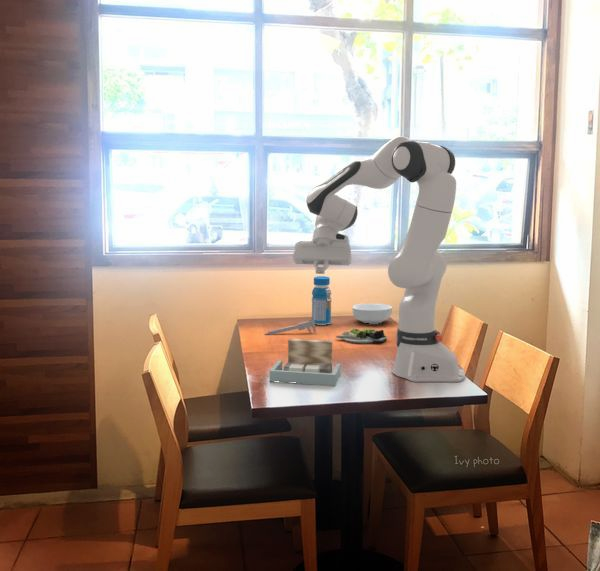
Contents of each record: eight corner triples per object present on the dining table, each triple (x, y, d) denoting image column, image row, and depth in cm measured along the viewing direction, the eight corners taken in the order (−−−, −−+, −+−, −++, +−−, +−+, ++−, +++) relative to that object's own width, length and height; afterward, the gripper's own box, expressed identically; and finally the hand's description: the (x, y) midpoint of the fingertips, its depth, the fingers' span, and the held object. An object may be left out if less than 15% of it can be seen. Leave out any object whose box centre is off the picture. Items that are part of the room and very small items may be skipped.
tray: (340, 374, 203) (340, 363, 203) (334, 386, 192) (335, 374, 191) (278, 370, 207) (278, 360, 207) (269, 381, 196) (269, 370, 195)
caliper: (315, 332, 260) (315, 317, 259) (315, 333, 259) (315, 318, 258) (264, 334, 257) (264, 319, 256) (264, 335, 256) (264, 319, 255)
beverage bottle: (314, 326, 271) (314, 279, 267) (309, 321, 279) (309, 276, 275) (333, 325, 273) (334, 278, 269) (328, 320, 281) (328, 275, 278)
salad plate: (339, 346, 239) (339, 334, 239) (332, 335, 257) (332, 323, 256) (390, 345, 241) (390, 333, 240) (380, 334, 259) (380, 322, 258)
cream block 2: (319, 377, 200) (320, 365, 200) (317, 381, 196) (317, 369, 196) (307, 377, 201) (307, 364, 200) (304, 381, 197) (304, 368, 196)
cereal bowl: (387, 318, 287) (387, 302, 286) (395, 326, 270) (395, 309, 269) (349, 318, 286) (349, 302, 285) (355, 327, 269) (355, 310, 268)
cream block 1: (304, 377, 201) (304, 364, 201) (301, 380, 197) (301, 368, 197) (291, 376, 202) (291, 363, 201) (289, 380, 198) (289, 367, 197)
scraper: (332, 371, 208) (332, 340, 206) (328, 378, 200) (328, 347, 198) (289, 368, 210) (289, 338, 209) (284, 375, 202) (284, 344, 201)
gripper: (294, 235, 227) (288, 266, 219) (352, 236, 223) (348, 268, 215) (297, 246, 232) (291, 277, 224) (353, 247, 228) (350, 279, 220)
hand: (319, 272), depth 219 cm, fingers closed
